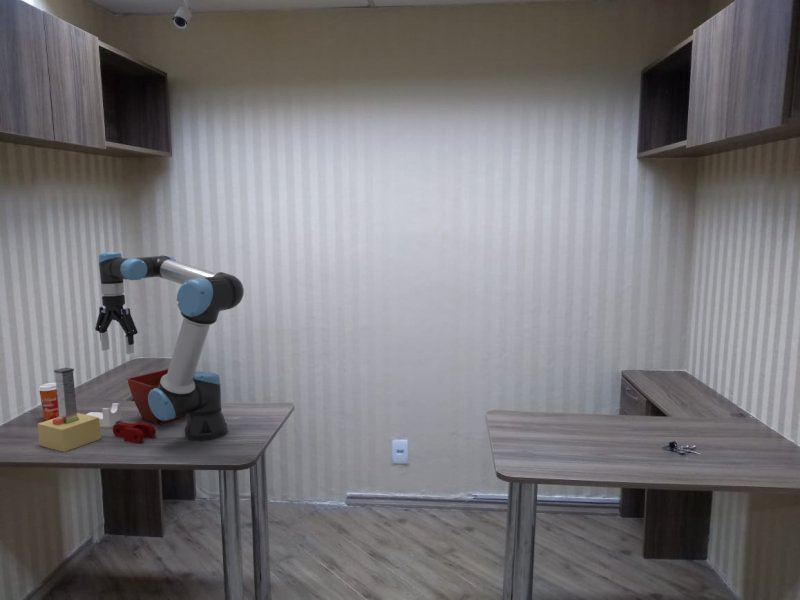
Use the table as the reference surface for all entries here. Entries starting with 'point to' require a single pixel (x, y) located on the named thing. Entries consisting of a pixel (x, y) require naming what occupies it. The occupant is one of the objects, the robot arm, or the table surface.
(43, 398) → the paper cup
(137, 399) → the plant pot
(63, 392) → the column
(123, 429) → the mechanical linkage
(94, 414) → the bracket
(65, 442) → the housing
